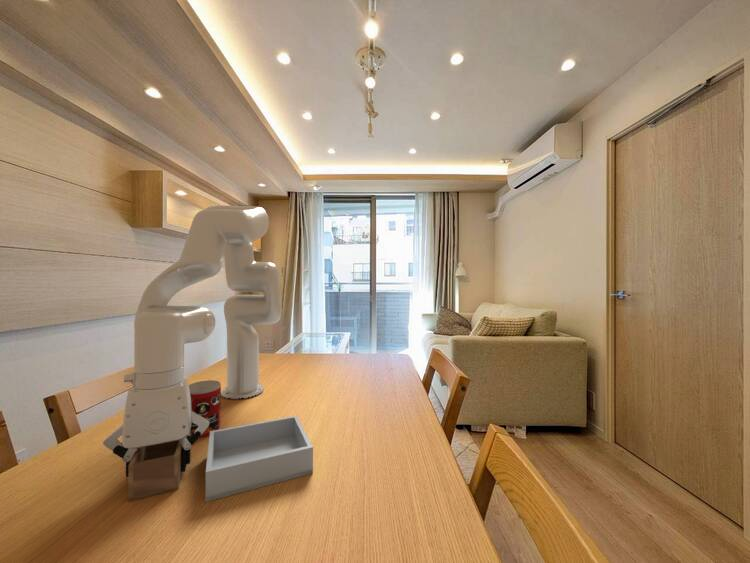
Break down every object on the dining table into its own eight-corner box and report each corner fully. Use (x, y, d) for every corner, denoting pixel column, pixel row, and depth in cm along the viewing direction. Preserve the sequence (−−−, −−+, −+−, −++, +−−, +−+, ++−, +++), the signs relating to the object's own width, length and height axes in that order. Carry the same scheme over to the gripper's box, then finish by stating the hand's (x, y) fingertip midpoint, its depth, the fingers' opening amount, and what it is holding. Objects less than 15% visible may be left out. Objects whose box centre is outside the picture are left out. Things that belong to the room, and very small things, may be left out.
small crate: (143, 467, 60) (143, 437, 60) (185, 459, 63) (185, 429, 63) (128, 501, 51) (128, 465, 51) (178, 489, 54) (178, 455, 54)
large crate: (209, 455, 65) (209, 431, 64) (296, 436, 72) (296, 415, 72) (205, 502, 51) (205, 472, 51) (312, 473, 59) (313, 447, 59)
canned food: (183, 442, 70) (183, 393, 70) (185, 426, 77) (186, 382, 77) (220, 434, 73) (221, 388, 73) (220, 420, 80) (220, 378, 80)
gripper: (90, 391, 50) (90, 501, 50) (212, 377, 57) (211, 472, 57) (106, 377, 56) (106, 474, 57) (213, 366, 64) (213, 452, 64)
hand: (159, 472), depth 57 cm, fingers closed on small crate, 7 cm apart
